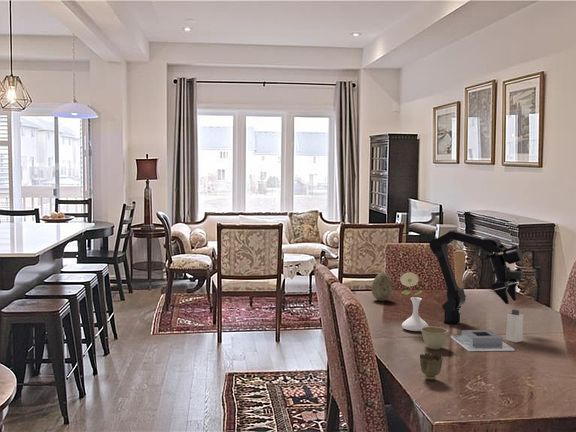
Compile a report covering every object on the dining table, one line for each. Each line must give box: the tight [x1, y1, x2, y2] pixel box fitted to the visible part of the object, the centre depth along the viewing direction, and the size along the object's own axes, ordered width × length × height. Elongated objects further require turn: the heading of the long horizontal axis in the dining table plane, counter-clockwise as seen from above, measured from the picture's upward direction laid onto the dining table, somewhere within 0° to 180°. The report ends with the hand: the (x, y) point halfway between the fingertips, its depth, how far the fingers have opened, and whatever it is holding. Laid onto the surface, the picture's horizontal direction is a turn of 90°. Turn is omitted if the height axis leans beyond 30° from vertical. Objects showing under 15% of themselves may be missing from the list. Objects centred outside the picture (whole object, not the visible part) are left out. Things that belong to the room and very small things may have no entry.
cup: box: [419, 352, 444, 382], centre depth 209 cm, size 8×7×8 cm
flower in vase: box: [399, 271, 430, 332], centre depth 272 cm, size 13×11×25 cm
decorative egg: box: [371, 271, 393, 302], centre depth 329 cm, size 11×11×15 cm
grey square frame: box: [450, 329, 515, 352], centre depth 253 cm, size 20×18×4 cm
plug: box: [505, 309, 524, 343], centre depth 258 cm, size 4×4×12 cm
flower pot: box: [420, 326, 449, 350], centre depth 246 cm, size 10×10×7 cm
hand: (511, 302), depth 269 cm, fingers open, 9 cm apart
